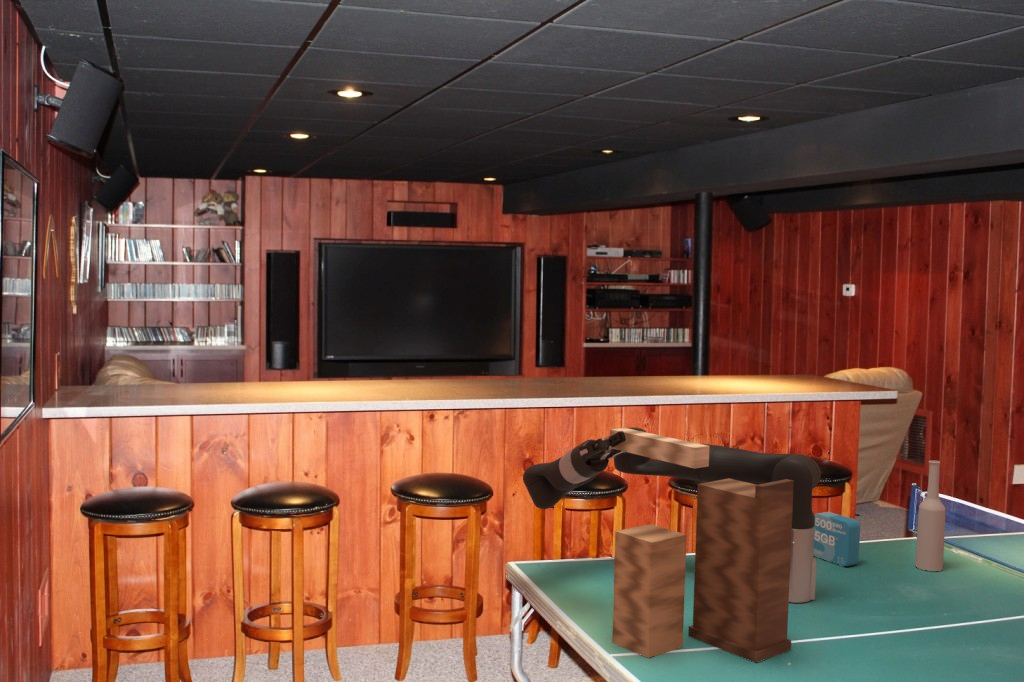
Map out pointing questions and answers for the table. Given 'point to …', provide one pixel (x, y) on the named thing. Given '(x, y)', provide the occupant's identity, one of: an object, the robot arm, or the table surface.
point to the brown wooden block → (663, 448)
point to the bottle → (931, 525)
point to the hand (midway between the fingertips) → (631, 434)
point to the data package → (836, 538)
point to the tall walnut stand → (743, 567)
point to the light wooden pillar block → (649, 589)
